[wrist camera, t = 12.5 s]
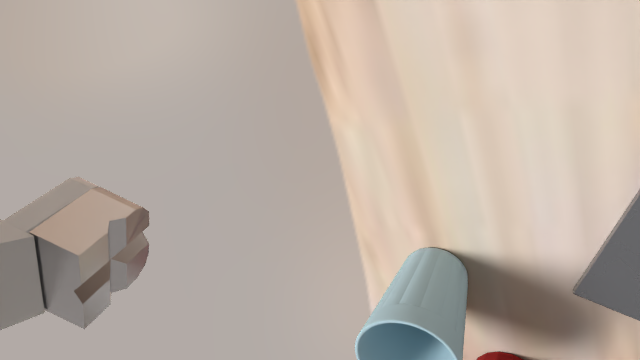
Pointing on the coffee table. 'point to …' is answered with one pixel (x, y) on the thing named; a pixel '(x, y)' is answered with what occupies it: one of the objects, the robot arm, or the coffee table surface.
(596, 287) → the flange
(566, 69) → the coffee table surface
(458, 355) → the cup
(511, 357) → the plastic cup
